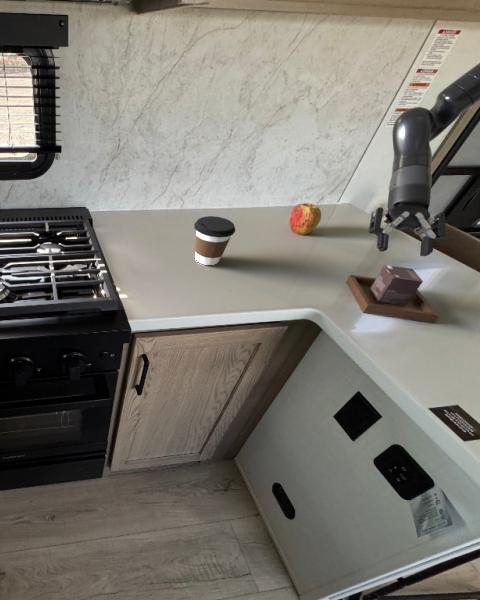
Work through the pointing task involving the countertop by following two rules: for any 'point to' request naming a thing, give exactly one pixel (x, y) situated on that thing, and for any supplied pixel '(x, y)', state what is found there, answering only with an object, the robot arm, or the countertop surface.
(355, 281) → the brown wooden tray
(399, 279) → the box
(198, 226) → the coffee cup
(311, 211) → the apple
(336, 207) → the countertop surface
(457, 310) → the countertop surface
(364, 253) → the countertop surface
